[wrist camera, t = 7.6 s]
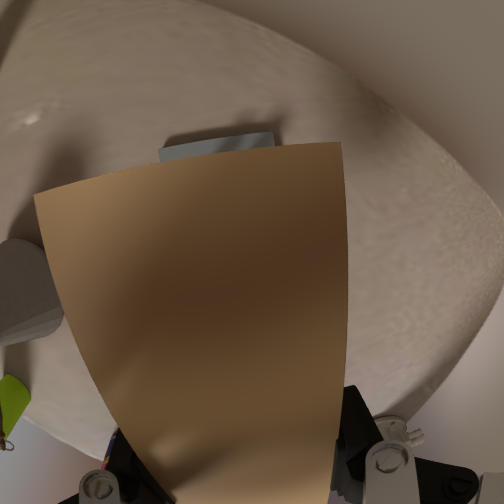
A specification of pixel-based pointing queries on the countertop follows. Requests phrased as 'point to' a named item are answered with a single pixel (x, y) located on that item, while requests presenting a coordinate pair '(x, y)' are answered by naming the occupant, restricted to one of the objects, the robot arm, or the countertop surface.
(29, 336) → the coffee pot
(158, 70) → the countertop surface
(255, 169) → the shelf board
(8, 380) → the soap dispenser
